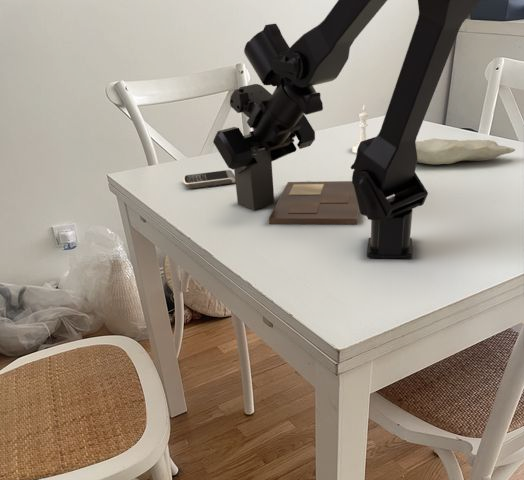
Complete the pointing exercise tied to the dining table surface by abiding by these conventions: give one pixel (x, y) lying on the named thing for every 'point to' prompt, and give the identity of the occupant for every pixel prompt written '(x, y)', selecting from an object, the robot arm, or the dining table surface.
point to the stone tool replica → (458, 151)
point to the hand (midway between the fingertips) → (248, 167)
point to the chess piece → (362, 128)
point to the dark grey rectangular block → (256, 182)
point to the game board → (316, 203)
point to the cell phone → (209, 179)
